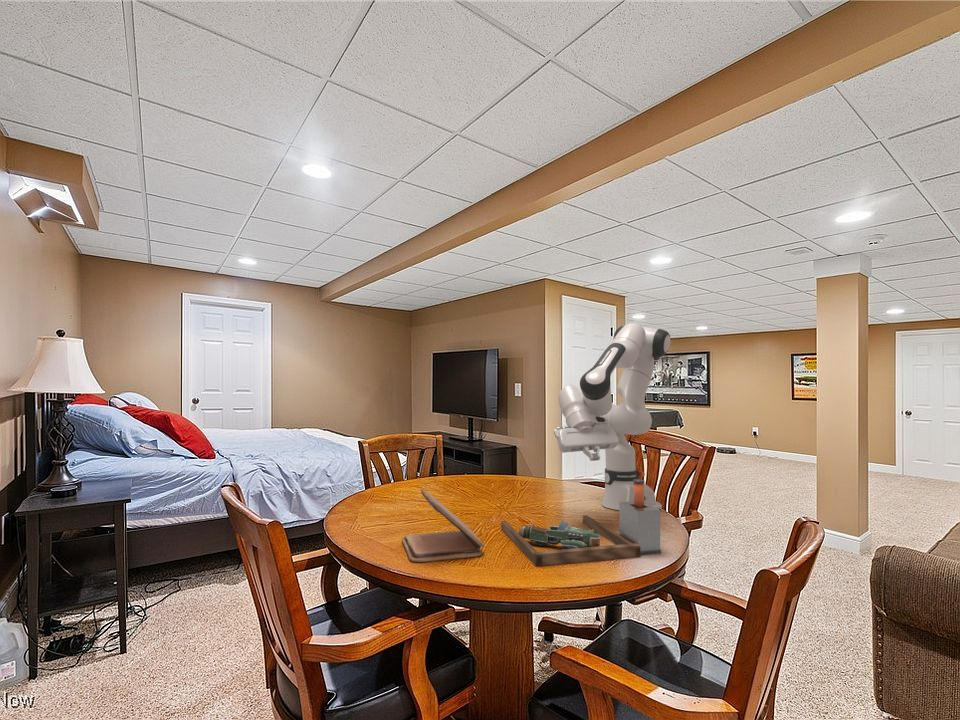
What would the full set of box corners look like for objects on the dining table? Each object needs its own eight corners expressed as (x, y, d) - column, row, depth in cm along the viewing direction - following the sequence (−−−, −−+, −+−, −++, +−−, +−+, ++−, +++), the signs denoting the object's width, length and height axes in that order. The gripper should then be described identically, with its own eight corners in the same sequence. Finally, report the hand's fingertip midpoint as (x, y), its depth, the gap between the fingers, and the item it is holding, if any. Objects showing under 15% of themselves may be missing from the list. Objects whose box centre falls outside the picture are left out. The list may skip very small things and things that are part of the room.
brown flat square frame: (586, 522, 164) (586, 513, 165) (640, 556, 133) (640, 545, 133) (501, 528, 157) (501, 519, 157) (536, 566, 126) (536, 554, 126)
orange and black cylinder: (640, 504, 143) (640, 479, 143) (647, 507, 139) (646, 481, 140) (631, 505, 142) (630, 479, 142) (637, 508, 139) (637, 481, 139)
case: (486, 557, 132) (487, 498, 133) (410, 565, 126) (411, 503, 127) (467, 535, 152) (468, 483, 153) (400, 540, 146) (401, 487, 147)
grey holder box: (640, 541, 146) (640, 500, 146) (660, 552, 136) (660, 509, 137) (619, 542, 144) (618, 502, 145) (638, 554, 134) (637, 511, 135)
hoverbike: (597, 561, 130) (597, 530, 130) (511, 546, 141) (511, 518, 141) (605, 550, 138) (604, 521, 139) (523, 537, 149) (523, 510, 150)
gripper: (554, 421, 159) (567, 456, 150) (611, 417, 164) (627, 451, 154) (550, 433, 164) (562, 468, 154) (605, 429, 168) (621, 462, 158)
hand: (595, 459), depth 154 cm, fingers closed
